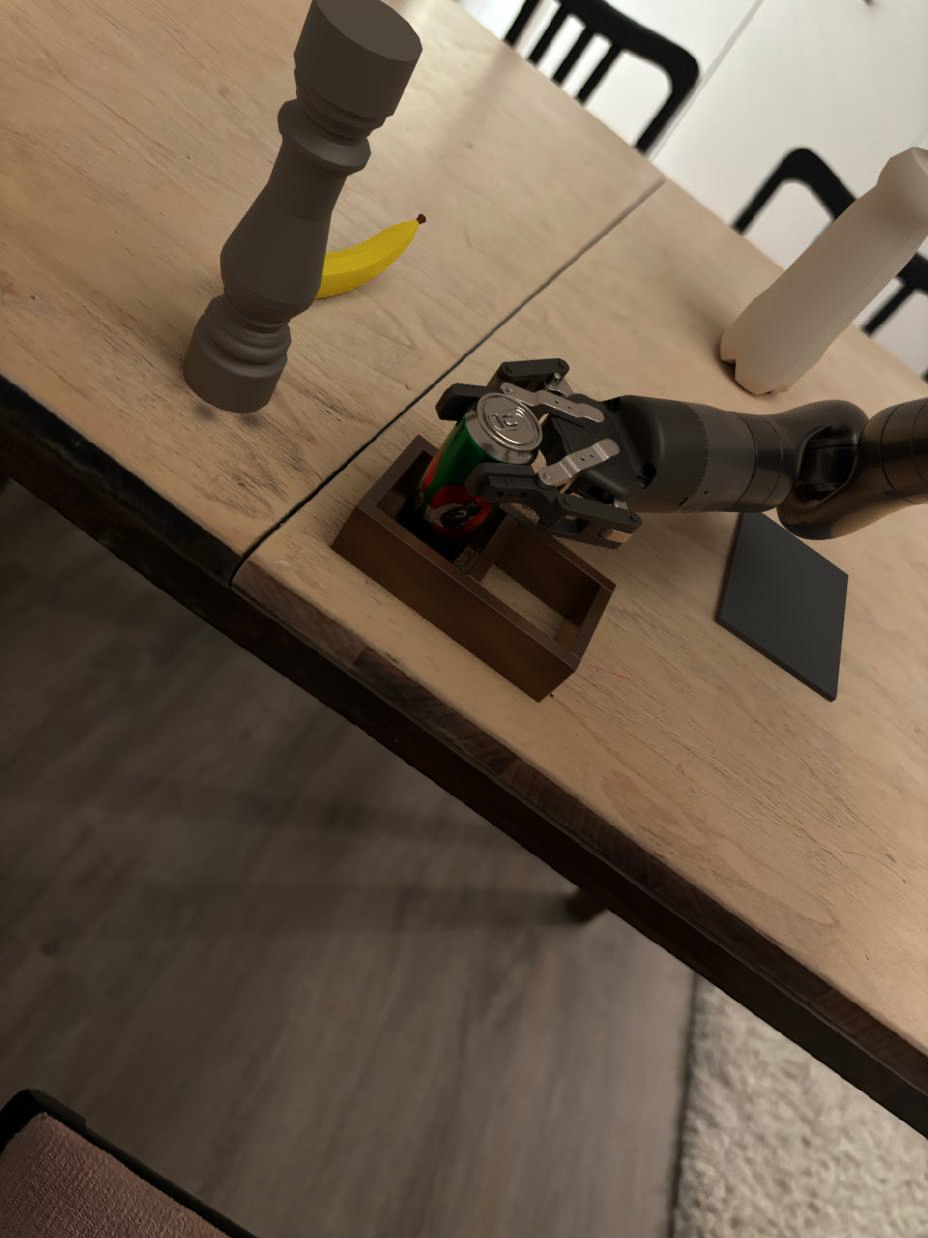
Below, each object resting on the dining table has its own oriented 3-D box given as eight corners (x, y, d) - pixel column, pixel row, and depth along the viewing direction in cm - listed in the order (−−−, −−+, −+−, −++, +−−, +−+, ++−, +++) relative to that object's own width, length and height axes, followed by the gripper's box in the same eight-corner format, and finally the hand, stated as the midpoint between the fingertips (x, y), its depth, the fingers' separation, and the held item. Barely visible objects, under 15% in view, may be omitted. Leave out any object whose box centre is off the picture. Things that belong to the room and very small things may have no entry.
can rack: (581, 618, 68) (617, 584, 65) (539, 703, 62) (576, 670, 59) (391, 474, 67) (418, 433, 64) (329, 547, 61) (355, 505, 58)
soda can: (469, 566, 64) (563, 450, 55) (409, 578, 61) (498, 458, 52) (436, 506, 66) (521, 385, 57) (376, 515, 62) (456, 388, 54)
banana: (194, 298, 67) (218, 225, 62) (382, 264, 80) (414, 201, 75) (217, 328, 66) (244, 257, 62) (403, 289, 79) (436, 227, 74)
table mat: (831, 702, 77) (836, 699, 77) (714, 621, 75) (719, 617, 75) (844, 578, 88) (848, 574, 87) (742, 504, 86) (746, 500, 86)
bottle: (794, 402, 101) (1049, 161, 80) (743, 404, 96) (1001, 146, 74) (750, 339, 104) (984, 89, 83) (698, 337, 99) (933, 69, 77)
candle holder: (236, 335, 67) (373, -19, 49) (290, 399, 66) (450, 63, 48) (163, 354, 63) (283, -25, 44) (220, 423, 62) (365, 65, 44)
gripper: (660, 338, 64) (447, 301, 55) (752, 509, 58) (531, 500, 49) (599, 413, 69) (395, 391, 60) (677, 577, 63) (465, 580, 54)
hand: (457, 440), depth 55 cm, fingers closed on soda can, 5 cm apart
